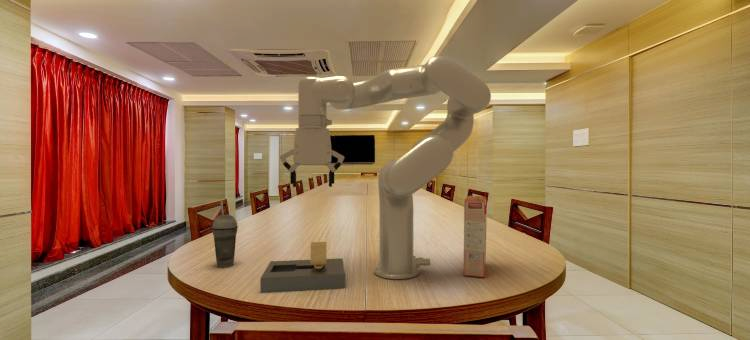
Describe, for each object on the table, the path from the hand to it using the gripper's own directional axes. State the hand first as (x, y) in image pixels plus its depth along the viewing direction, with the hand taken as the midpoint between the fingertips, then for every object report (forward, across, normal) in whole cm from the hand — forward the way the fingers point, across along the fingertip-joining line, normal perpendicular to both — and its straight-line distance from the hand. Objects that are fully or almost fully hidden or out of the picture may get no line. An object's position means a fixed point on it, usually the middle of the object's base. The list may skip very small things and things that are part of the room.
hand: (312, 186), depth 91 cm
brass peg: (+24, -2, +4) cm, 25 cm away
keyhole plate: (+24, +2, +3) cm, 25 cm away
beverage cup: (+25, +26, -15) cm, 39 cm away
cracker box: (+24, -46, +4) cm, 52 cm away
